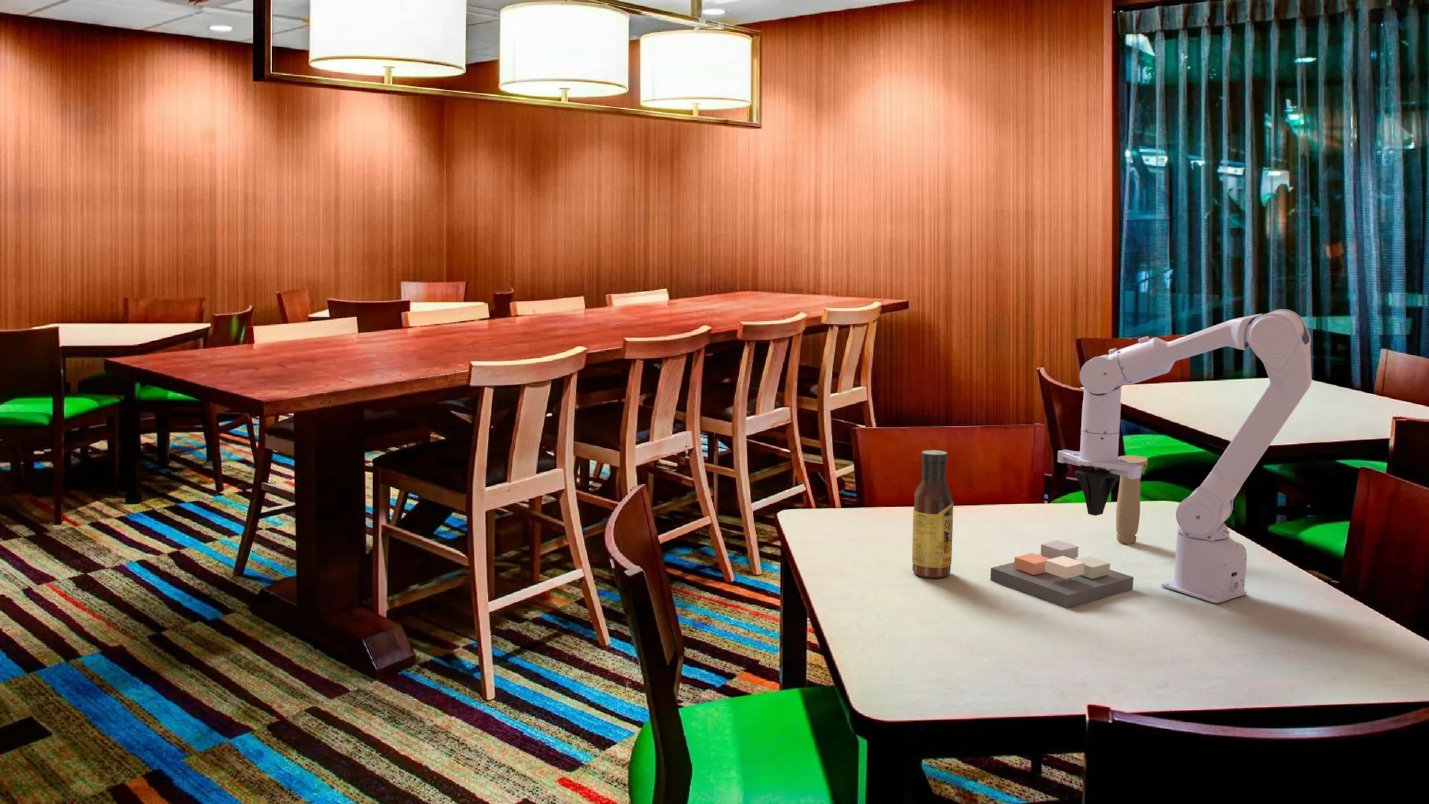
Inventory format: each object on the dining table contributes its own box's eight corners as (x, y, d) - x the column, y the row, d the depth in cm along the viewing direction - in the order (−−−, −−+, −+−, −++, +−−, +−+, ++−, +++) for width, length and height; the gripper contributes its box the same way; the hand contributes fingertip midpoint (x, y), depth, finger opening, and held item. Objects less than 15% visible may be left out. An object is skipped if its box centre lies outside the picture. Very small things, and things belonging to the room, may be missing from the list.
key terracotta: (1051, 570, 167) (1052, 559, 167) (1034, 575, 165) (1034, 563, 165) (1031, 563, 170) (1032, 552, 170) (1014, 568, 168) (1014, 557, 168)
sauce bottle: (951, 581, 169) (955, 457, 166) (911, 578, 170) (914, 456, 167) (950, 568, 175) (955, 449, 172) (911, 565, 176) (915, 447, 173)
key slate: (1077, 557, 170) (1078, 546, 170) (1060, 561, 168) (1061, 550, 168) (1057, 550, 173) (1058, 540, 173) (1040, 555, 171) (1041, 544, 171)
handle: (1146, 540, 190) (1152, 458, 188) (1132, 548, 185) (1137, 464, 183) (1120, 535, 193) (1125, 454, 191) (1105, 543, 189) (1110, 459, 186)
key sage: (1109, 574, 165) (1109, 563, 165) (1092, 578, 163) (1092, 567, 163) (1087, 567, 169) (1088, 556, 168) (1070, 571, 166) (1071, 560, 166)
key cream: (1083, 574, 162) (1084, 562, 162) (1066, 578, 160) (1066, 567, 159) (1062, 567, 165) (1063, 555, 165) (1044, 571, 163) (1045, 560, 163)
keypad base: (1132, 589, 165) (1133, 577, 164) (1067, 608, 157) (1068, 595, 157) (1054, 563, 177) (1055, 552, 177) (990, 579, 169) (990, 567, 169)
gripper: (1046, 426, 174) (1042, 507, 176) (1123, 441, 162) (1117, 528, 164) (1075, 422, 178) (1071, 501, 180) (1152, 436, 166) (1146, 521, 168)
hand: (1095, 514), depth 173 cm, fingers closed
